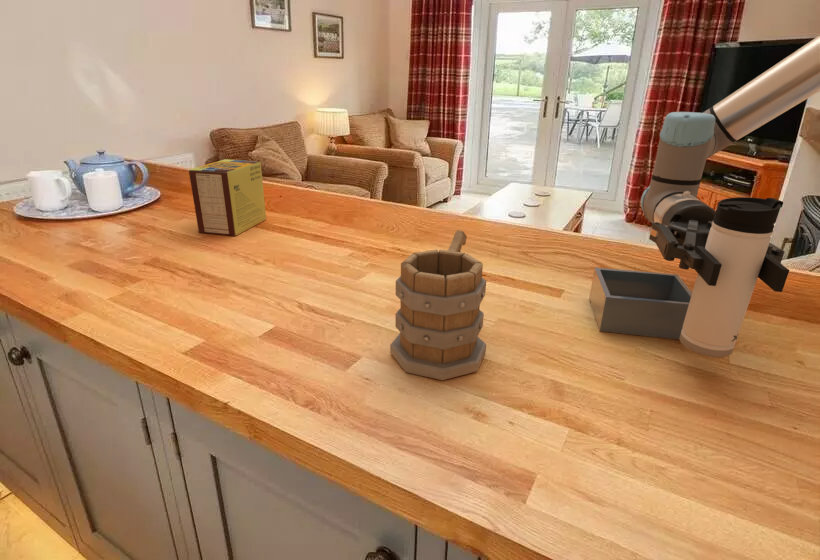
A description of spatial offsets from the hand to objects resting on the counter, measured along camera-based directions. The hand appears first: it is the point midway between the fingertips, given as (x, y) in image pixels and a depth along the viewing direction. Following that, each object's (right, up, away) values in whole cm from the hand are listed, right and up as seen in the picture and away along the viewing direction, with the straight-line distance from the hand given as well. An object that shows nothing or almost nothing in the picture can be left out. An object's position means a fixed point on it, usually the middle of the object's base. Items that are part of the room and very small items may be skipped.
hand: (748, 277), depth 56 cm
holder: (-1, -7, +25) cm, 26 cm away
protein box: (-84, +13, +70) cm, 110 cm away
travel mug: (+1, -9, +9) cm, 13 cm away
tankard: (-33, -10, +17) cm, 39 cm away
